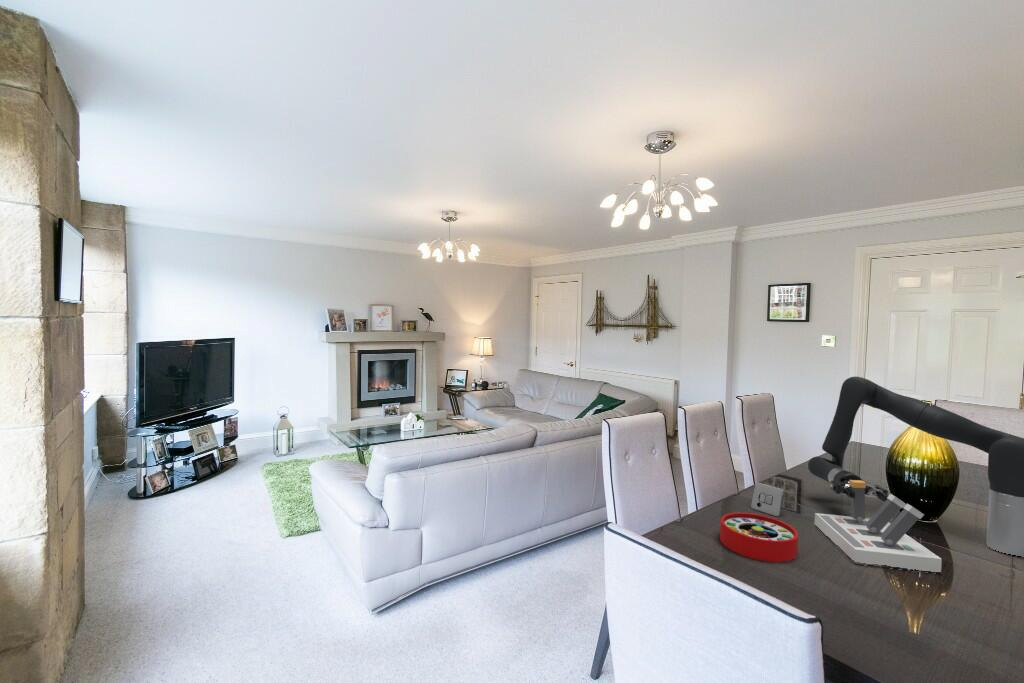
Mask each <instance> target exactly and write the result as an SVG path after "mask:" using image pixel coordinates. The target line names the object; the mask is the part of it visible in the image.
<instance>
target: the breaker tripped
mask: <svg viewBox="0 0 1024 683" xmlns="http://www.w3.org/2000/svg"><path fill="white" fill-rule="evenodd" d="M862 480H863V479H862ZM862 480H849V485H850V488H851V490H853V491H855V498H850V517H852V518H854V519H856V520H857V521H858V522H862V521H863V519H865V518H866V496H865V488H866V482H865V481H862Z"/></svg>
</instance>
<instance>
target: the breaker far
mask: <svg viewBox="0 0 1024 683" xmlns="http://www.w3.org/2000/svg"><path fill="white" fill-rule="evenodd" d="M905 504H906V505H905V506H904V507H903V510H901V511H900V513H899V514H898V515H897V516H896V518H894V519H893V520H892V522H890V523H891V524H890V525H889V526H888V527H887V528H886V530H885V531H884V532H883V533H882V534H881V535H880V536H882V537H881V539H882V540H883V541H884V542H885V543H886V544H888V545H895V544H896V543H897V542H898V541H899V540H900V539H901V538H902V537H903V536H904V534H906V533H907V532H909V530H910V529H911V528H912V527H913V526H914V524H916V522H917V521H918V520H921V519H922V518H923V517H924V516H925V513H922V512H921V511H920V510H919V509H917V508H915V507H914V506H912V505H910V504H909V503H905Z"/></svg>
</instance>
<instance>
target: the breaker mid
mask: <svg viewBox="0 0 1024 683" xmlns="http://www.w3.org/2000/svg"><path fill="white" fill-rule="evenodd" d="M887 498H888V499H887V500H886V501H885V502H883V504H881V505H880V507H879V508H878V509H877V510H876V511H875V512H874V514H872V516H871V517H870V519H869V520H868V521H867V523H866V525H867V526H866V527H867V529H869V530H870V531H871V532H872V533H876V532H877V533H879V532H880V531H881V530H882V529H883V528H884V527H885V525H886V524H887V523H888V522H889V523H890V521H891V520H892V519H893V518H894V516H895V515H896V514H897V513H899V511H900V510H901V509H904V506H905V505H906V504H907V503H905V502H904V501H903V500H901V499H899V498H898V497H897V496H895V495H893V494H892V493H890V494H888V497H887Z"/></svg>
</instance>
